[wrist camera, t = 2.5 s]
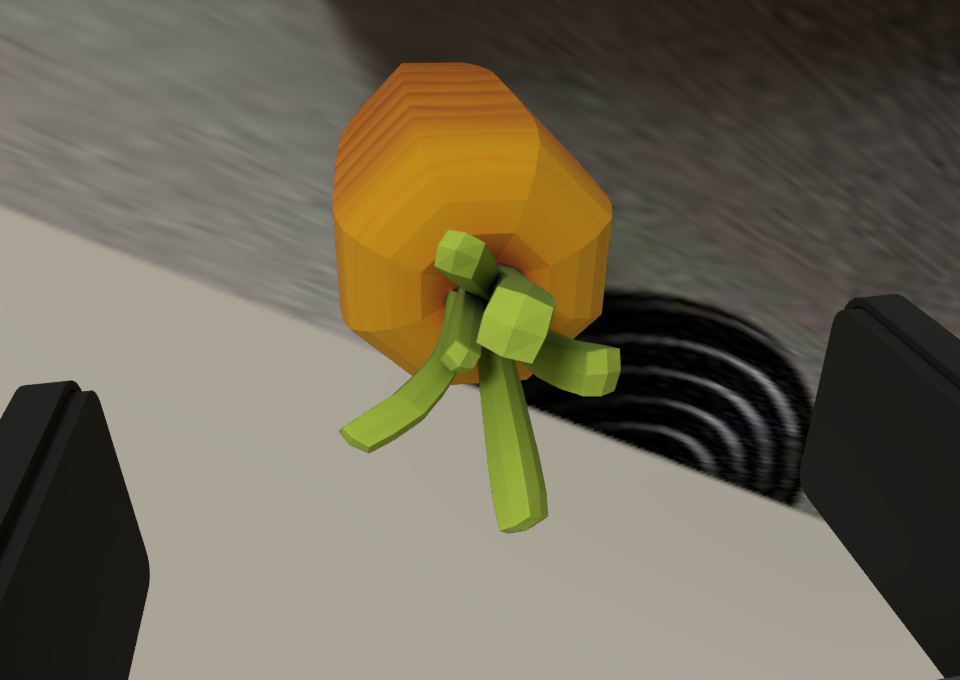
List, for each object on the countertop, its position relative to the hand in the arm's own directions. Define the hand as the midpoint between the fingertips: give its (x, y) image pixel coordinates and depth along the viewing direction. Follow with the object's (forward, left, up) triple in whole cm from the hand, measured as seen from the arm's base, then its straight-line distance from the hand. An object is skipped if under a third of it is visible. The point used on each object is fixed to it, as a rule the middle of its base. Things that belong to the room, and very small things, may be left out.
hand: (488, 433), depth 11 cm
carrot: (0, 0, -15) cm, 15 cm away
